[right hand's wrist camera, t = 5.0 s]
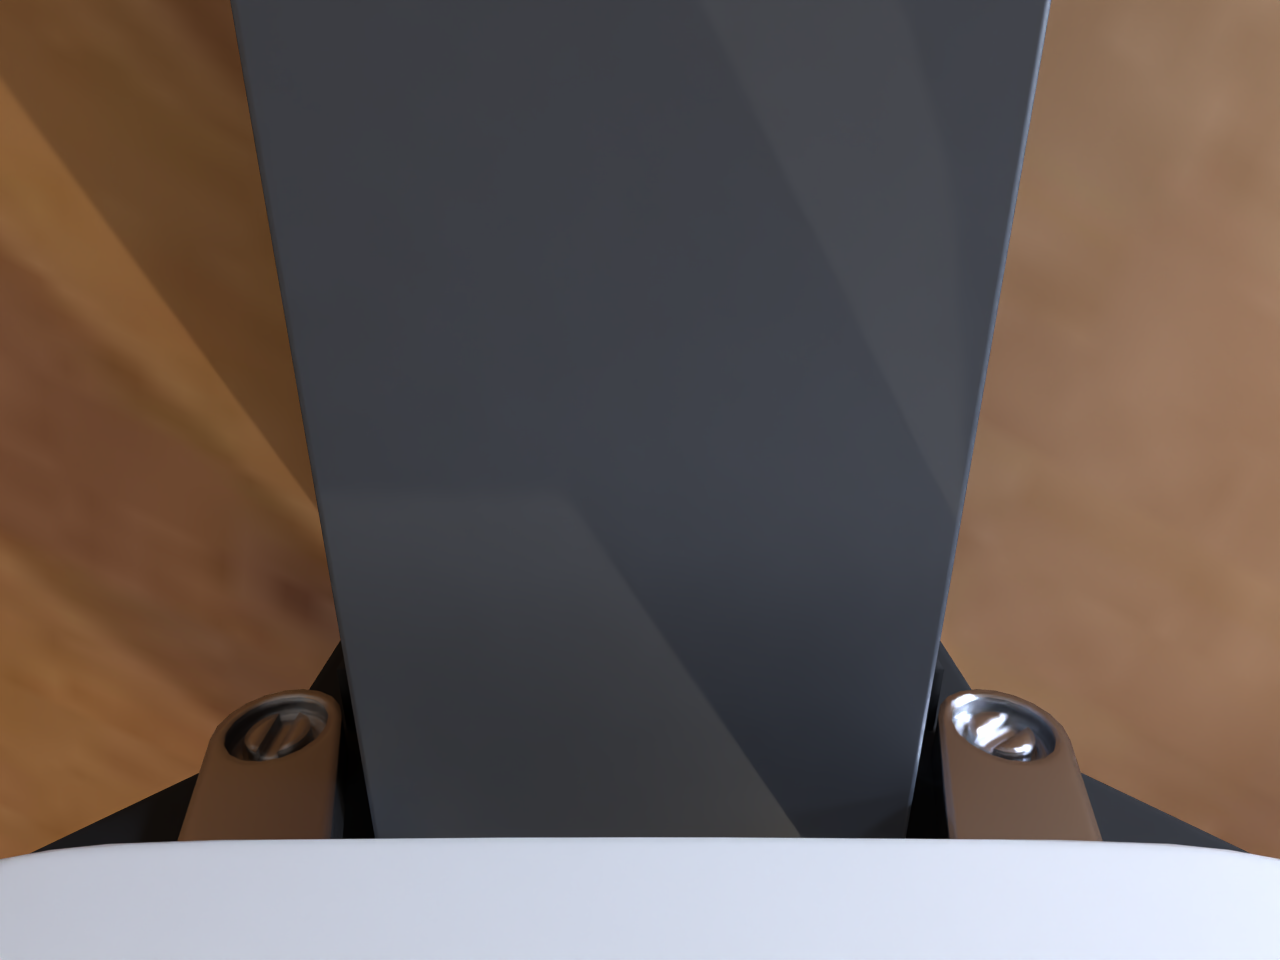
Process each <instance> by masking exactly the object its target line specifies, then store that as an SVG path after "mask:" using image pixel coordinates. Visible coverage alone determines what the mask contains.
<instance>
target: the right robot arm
mask: <svg viewBox="0 0 1280 960" xmlns="http://www.w3.org/2000/svg"><path fill="white" fill-rule="evenodd" d="M0 960H1280V859H1276V858H1270V857H1265V856H1260V855H1254V854H1250V853H1248V852H1246V851H1244V850H1242V849H1240V848H1238V847H1236V846H1234V845H1232V844H1229V843H1227V842H1225V841H1223V840H1221V839H1219V838H1217V837H1215V836H1213V835H1211V834H1208V833H1206V832H1204V831H1202V830H1200V829H1198V828H1196V827H1194V826H1192V825H1190V824H1187V823H1185V822H1183V821H1181V820H1179V819H1177V818H1175V817H1173V816H1171V815H1169V814H1166V813H1164V812H1162V811H1160V810H1158V809H1156V808H1154V807H1152V806H1150V805H1148V804H1145V803H1143V802H1141V801H1139V800H1137V799H1135V798H1133V797H1131V796H1129V795H1127V794H1124V793H1122V792H1120V791H1118V790H1116V789H1114V788H1112V787H1110V786H1108V785H1106V784H1103V783H1101V782H1099V781H1097V780H1095V779H1093V778H1091V777H1089V776H1087V775H1085V774H1082V773H1081V772H1080V769H1079V766H1078V763H1077V760H1076V757H1075V753H1074V750H1073V747H1072V744H1071V741H1070V739H1069V737H1068V735H1067V733H1066V731H1065V730H1064V728H1063V726H1062V725H1061V724H1060V723H1059V722H1058V721H1057V720H1056V719H1055V718H1053V717H1052V716H1051V715H1050V714H1049V713H1047V712H1046V711H1044V710H1043V709H1041V708H1040V707H1038V706H1036V705H1035V704H1033V703H1031V702H1028V701H1026V700H1024V699H1021V698H1019V697H1017V696H1014V695H1010V694H1006V693H1002V692H998V691H992V690H980V689H974V690H971V688H970V687H969V685H968V684H967V682H966V680H965V679H964V677H963V676H962V674H961V673H960V671H959V669H958V668H957V666H956V665H955V663H954V662H953V660H952V658H951V657H950V655H949V654H948V652H947V651H946V649H945V647H944V646H943V644H942V643H941V641H940V644H939V649H938V655H937V661H936V667H935V673H934V678H933V684H932V690H931V696H930V701H929V707H928V713H927V719H926V724H925V730H924V736H923V742H922V747H921V753H920V759H919V765H918V771H917V776H916V782H915V788H914V794H913V799H912V805H911V811H910V817H909V822H908V828H907V834H906V839H880V838H726V837H589V838H401V839H375V835H374V829H373V824H372V818H371V812H370V806H369V800H368V795H367V789H366V783H365V777H364V772H363V766H362V760H361V754H360V748H359V743H358V737H357V731H356V725H355V719H354V714H353V708H352V702H351V696H350V690H349V685H348V679H347V673H346V667H345V662H344V656H343V650H342V644H341V641H340V642H339V644H338V645H337V647H336V648H335V650H334V652H333V653H332V655H331V656H330V658H329V659H328V661H327V663H326V664H325V666H324V667H323V669H322V670H321V672H320V674H319V675H318V677H317V678H316V680H315V681H314V683H313V685H312V686H311V688H310V689H309V690H306V689H300V690H288V691H282V692H278V693H274V694H270V695H266V696H263V697H261V698H259V699H256V700H254V701H252V702H249V703H247V704H245V705H244V706H242V707H240V708H239V709H237V710H236V711H234V712H233V713H231V714H230V715H229V716H228V717H227V718H225V719H224V720H223V721H222V722H221V723H220V724H219V725H218V726H217V728H216V730H215V731H214V733H213V735H212V737H211V739H210V741H209V744H208V747H207V750H206V753H205V757H204V760H203V763H202V766H201V769H200V772H199V773H198V774H196V775H194V776H192V777H190V778H188V779H185V780H183V781H181V782H179V783H177V784H175V785H173V786H171V787H169V788H167V789H164V790H162V791H160V792H158V793H156V794H154V795H152V796H150V797H148V798H146V799H143V800H141V801H139V802H137V803H135V804H133V805H131V806H129V807H127V808H124V809H122V810H120V811H118V812H116V813H114V814H112V815H110V816H108V817H106V818H103V819H101V820H99V821H97V822H95V823H93V824H91V825H89V826H87V827H85V828H82V829H80V830H78V831H76V832H74V833H72V834H70V835H68V836H66V837H64V838H61V839H59V840H57V841H55V842H53V843H51V844H49V845H47V846H45V847H43V848H40V849H38V850H36V851H34V852H32V853H30V854H26V855H20V856H15V857H10V858H4V859H0Z"/></svg>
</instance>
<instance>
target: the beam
mask: <svg viewBox="0 0 1280 960" xmlns="http://www.w3.org/2000/svg"><path fill="white" fill-rule="evenodd" d="M230 1H231V7H232V13H233V19H234V25H235V30H236V36H237V42H238V48H239V54H240V59H241V65H242V71H243V77H244V83H245V88H246V94H247V100H248V106H249V111H250V117H251V123H252V129H253V135H254V140H255V146H256V152H257V158H258V164H259V169H260V175H261V181H262V187H263V193H264V198H265V204H266V210H267V216H268V221H269V227H270V233H271V239H272V245H273V250H274V256H275V262H276V268H277V274H278V279H279V285H280V291H281V297H282V303H283V308H284V314H285V320H286V326H287V332H288V337H289V343H290V349H291V355H292V360H293V366H294V372H295V378H296V384H297V389H298V395H299V401H300V407H301V413H302V418H303V424H304V430H305V436H306V442H307V447H308V453H309V459H310V465H311V470H312V476H313V482H314V488H315V494H316V499H317V505H318V511H319V517H320V523H321V528H322V534H323V540H324V546H325V552H326V557H327V563H328V569H329V575H330V580H331V586H332V592H333V598H334V604H335V609H336V615H337V621H338V627H339V633H340V638H341V644H342V650H343V656H344V662H345V667H346V673H347V679H348V685H349V690H350V696H351V702H352V708H353V714H354V719H355V725H356V731H357V737H358V743H359V748H360V754H361V760H362V766H363V772H364V777H365V783H366V789H367V795H368V800H369V806H370V812H371V818H372V824H373V829H374V835H375V839H401V838H589V837H726V838H880V839H906V834H907V828H908V822H909V817H910V811H911V805H912V799H913V794H914V788H915V782H916V776H917V771H918V765H919V759H920V753H921V747H922V742H923V736H924V730H925V724H926V719H927V713H928V707H929V701H930V696H931V690H932V684H933V678H934V673H935V667H936V661H937V655H938V649H939V644H940V638H941V632H942V626H943V621H944V615H945V609H946V603H947V598H948V592H949V586H950V580H951V575H952V569H953V563H954V557H955V551H956V546H957V540H958V534H959V528H960V523H961V517H962V511H963V505H964V500H965V494H966V488H967V482H968V477H969V471H970V465H971V459H972V454H973V448H974V442H975V436H976V430H977V425H978V419H979V413H980V407H981V402H982V396H983V390H984V384H985V379H986V373H987V367H988V361H989V356H990V350H991V344H992V338H993V332H994V327H995V321H996V315H997V309H998V304H999V298H1000V292H1001V286H1002V281H1003V275H1004V269H1005V263H1006V258H1007V252H1008V246H1009V240H1010V235H1011V229H1012V223H1013V217H1014V211H1015V206H1016V200H1017V194H1018V188H1019V183H1020V177H1021V171H1022V165H1023V160H1024V154H1025V148H1026V142H1027V137H1028V131H1029V125H1030V119H1031V113H1032V108H1033V102H1034V96H1035V90H1036V85H1037V79H1038V73H1039V67H1040V62H1041V56H1042V50H1043V44H1044V39H1045V33H1046V27H1047V21H1048V15H1049V10H1050V4H1051V0H230Z"/></svg>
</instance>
